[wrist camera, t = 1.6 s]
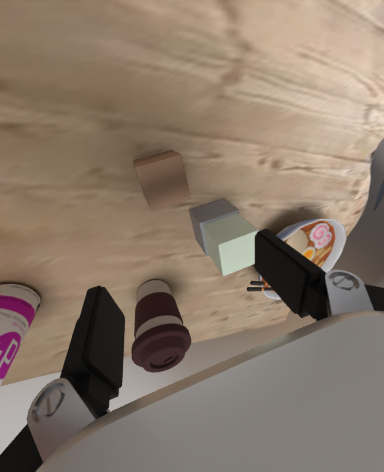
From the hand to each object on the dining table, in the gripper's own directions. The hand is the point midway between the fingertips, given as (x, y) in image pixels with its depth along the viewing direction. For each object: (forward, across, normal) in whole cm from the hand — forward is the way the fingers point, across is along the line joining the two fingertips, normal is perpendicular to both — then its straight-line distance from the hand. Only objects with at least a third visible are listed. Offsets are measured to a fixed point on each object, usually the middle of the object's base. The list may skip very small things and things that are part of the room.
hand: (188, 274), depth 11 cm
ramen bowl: (+23, -27, +24) cm, 43 cm away
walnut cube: (+22, -1, -1) cm, 22 cm away
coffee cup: (+22, +7, +23) cm, 33 cm away
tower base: (+22, -8, +10) cm, 26 cm away
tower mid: (+16, -9, +10) cm, 21 cm away
